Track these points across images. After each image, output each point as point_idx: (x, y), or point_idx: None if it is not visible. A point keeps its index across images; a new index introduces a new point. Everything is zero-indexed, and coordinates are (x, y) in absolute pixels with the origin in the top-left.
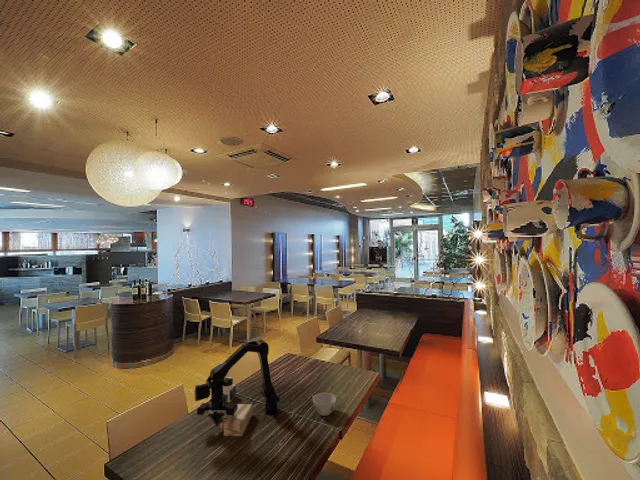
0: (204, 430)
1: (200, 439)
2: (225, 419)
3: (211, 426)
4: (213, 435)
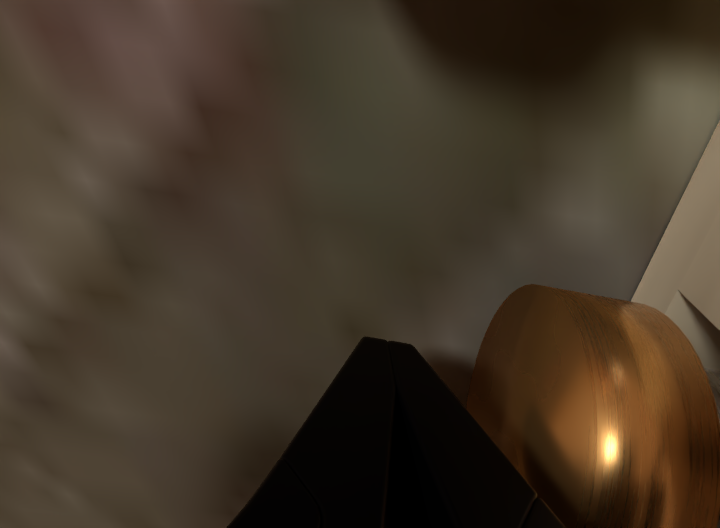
0: (19, 262)
1: (91, 505)
2: (710, 500)
3: (139, 116)
4: None
